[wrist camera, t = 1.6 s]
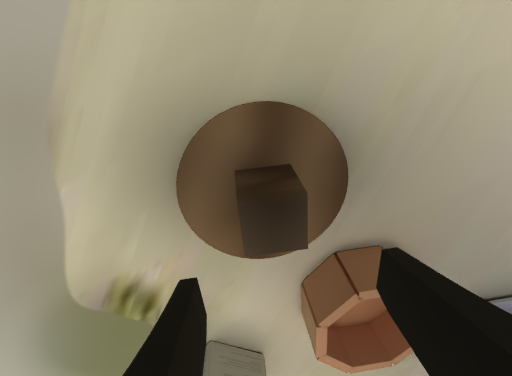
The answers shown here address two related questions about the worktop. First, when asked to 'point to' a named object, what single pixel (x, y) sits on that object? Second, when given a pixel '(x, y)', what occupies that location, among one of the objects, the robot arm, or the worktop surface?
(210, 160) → the lid
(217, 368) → the skincare box
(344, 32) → the worktop surface
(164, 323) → the robot arm
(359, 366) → the bowl
